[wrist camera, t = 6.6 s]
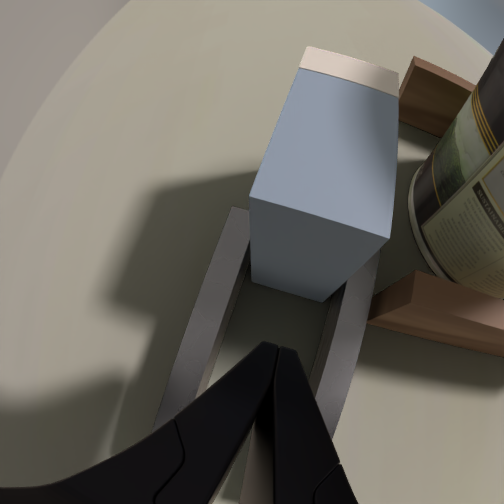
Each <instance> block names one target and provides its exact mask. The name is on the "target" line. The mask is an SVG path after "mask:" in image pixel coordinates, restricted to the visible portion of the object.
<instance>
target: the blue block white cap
mask: <svg viewBox="0 0 504 504" xmlns="http://www.w3.org/2000/svg"><path fill="white" fill-rule="evenodd" d="M398 99H399V78H398V73H397V72H394V71H391V70H389V69H386V68H383V67H380V66H377V65H374V64H371V63H368V62H365V61H362V60H359V59H355V58H352V57H349V56H345V55H342V54H338V53H334V52H331V51H327V50H323V49H319V48H314V47H310V46H307V48H306V51H305V53H304V56H303V58H302V60H301V63H300V65H299V69H298V72H297V74H296V76H295V79H294V81H293V84H292V86H291V89H290V91H289V94H288V96H287V99H286V101H285V104H284V106H283V109H282V111H281V114H280V116H279V119H278V122H277V124H276V127H275V129H274V132H273V134H272V137H271V139H270V142H269V145H268V147H267V150H266V152H265V155H264V157H263V160H262V163H261V165H260V168H259V170H258V173H257V176H256V178H255V181H254V184H253V186H252V189H251V192H250V194H249V219H250V249H251V279H252V282H254V283H258V284H261V285H264V286H267V287H271V288H274V289H277V290H281V291H284V292H287V293H291V294H294V295H297V296H301V297H304V298H308V299H311V300H314V301H318V302H321V303H322V302H324V301H325V300H326V299H327V298H328V297H329V296H330V295H331V294H332V293H334V292H335V291H336V290H337V289H338V288H339V287H340V286H341V285H342V284H343V283H344V282H345V281H347V280H348V279H349V278H350V277H351V276H352V275H353V274H354V273H355V272H356V271H357V270H358V269H359V268H360V267H361V266H362V265H363V264H365V263H366V262H367V261H368V260H369V259H370V258H371V257H372V256H373V255H374V254H375V253H376V252H377V251H378V250H379V249H380V248H381V247H382V246H383V245H384V244H385V243H386V242H387V241H388V240H389V239H390V232H391V224H392V216H393V206H394V196H395V184H396V171H397V153H398V117H399V104H398Z"/></svg>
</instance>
